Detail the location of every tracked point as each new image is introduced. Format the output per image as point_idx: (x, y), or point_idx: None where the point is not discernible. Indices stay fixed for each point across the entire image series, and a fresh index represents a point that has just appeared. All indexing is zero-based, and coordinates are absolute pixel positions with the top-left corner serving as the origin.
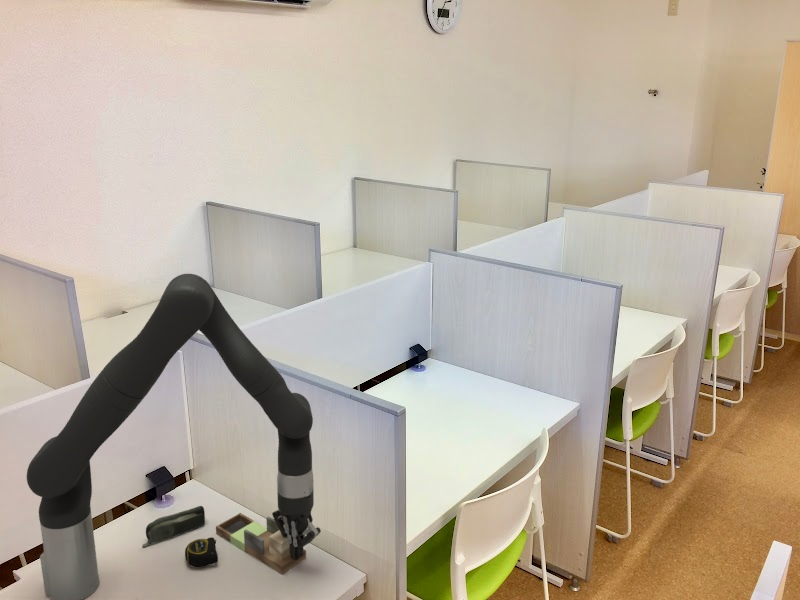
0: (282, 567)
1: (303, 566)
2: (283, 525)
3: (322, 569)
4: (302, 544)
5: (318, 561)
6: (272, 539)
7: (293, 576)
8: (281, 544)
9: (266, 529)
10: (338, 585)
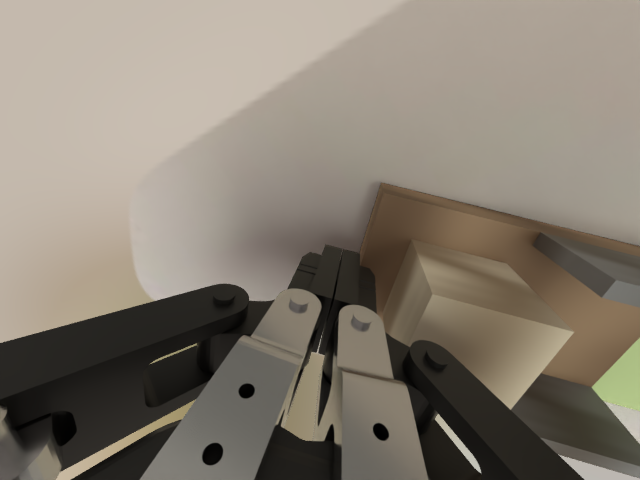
0: (381, 195)
1: None
2: (482, 473)
3: (254, 272)
4: (191, 302)
5: None
6: (529, 316)
7: (328, 194)
8: (431, 291)
9: (596, 391)
10: (155, 222)
